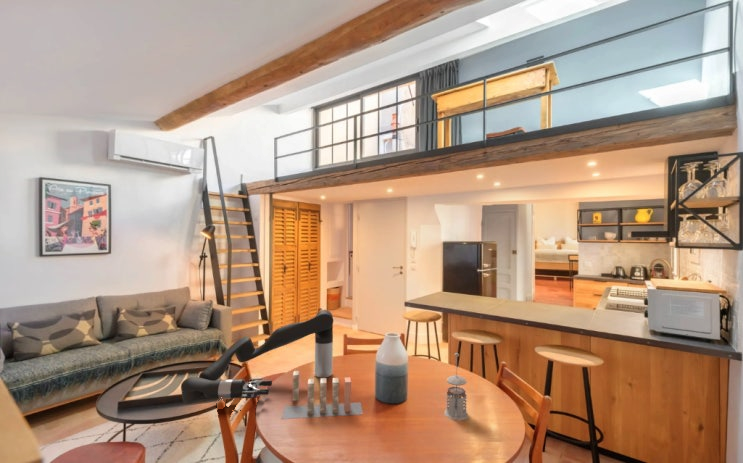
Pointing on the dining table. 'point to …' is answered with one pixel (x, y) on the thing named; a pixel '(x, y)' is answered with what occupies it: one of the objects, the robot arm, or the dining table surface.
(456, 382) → the french press
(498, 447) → the dining table surface
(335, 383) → the domino
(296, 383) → the domino
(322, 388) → the domino
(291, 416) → the domino board
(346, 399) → the end domino
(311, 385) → the domino
